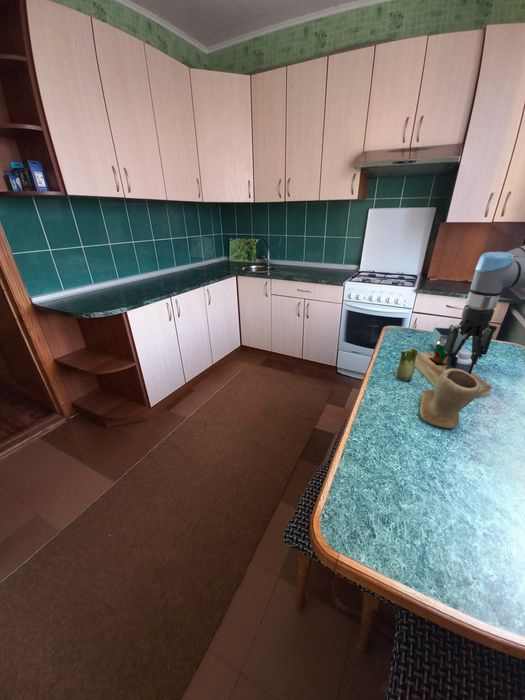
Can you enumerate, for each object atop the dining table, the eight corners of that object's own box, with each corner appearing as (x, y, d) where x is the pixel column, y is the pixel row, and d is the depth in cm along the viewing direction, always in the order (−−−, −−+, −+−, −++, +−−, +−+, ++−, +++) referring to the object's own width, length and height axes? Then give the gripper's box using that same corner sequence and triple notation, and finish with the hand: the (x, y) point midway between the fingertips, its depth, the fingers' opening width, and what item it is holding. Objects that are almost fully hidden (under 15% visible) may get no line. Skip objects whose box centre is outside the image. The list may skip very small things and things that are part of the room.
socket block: (444, 361, 115) (447, 352, 113) (487, 396, 94) (491, 386, 92) (410, 362, 114) (412, 353, 113) (445, 397, 93) (448, 387, 92)
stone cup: (465, 438, 77) (483, 391, 71) (416, 422, 83) (428, 378, 76) (464, 407, 89) (480, 365, 82) (421, 395, 95) (433, 355, 88)
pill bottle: (468, 382, 95) (478, 356, 91) (450, 380, 96) (459, 355, 92) (461, 373, 100) (470, 348, 96) (444, 372, 101) (452, 347, 97)
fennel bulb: (395, 381, 103) (402, 350, 97) (394, 374, 107) (400, 344, 101) (413, 383, 101) (421, 353, 95) (411, 376, 105) (419, 346, 100)
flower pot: (450, 347, 125) (456, 328, 121) (458, 357, 117) (465, 336, 113) (428, 346, 127) (433, 327, 123) (435, 355, 119) (441, 335, 115)
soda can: (442, 375, 105) (451, 345, 100) (427, 370, 109) (435, 341, 103) (446, 370, 109) (455, 341, 103) (432, 365, 112) (440, 337, 106)
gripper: (500, 302, 90) (477, 366, 101) (442, 303, 90) (424, 368, 101) (520, 309, 84) (493, 377, 94) (457, 311, 83) (437, 379, 94)
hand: (457, 372), depth 97 cm, fingers closed on pill bottle, 5 cm apart
